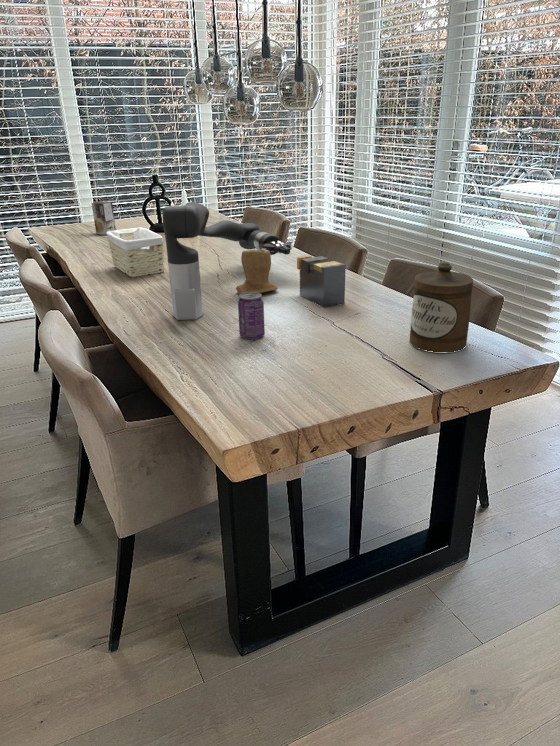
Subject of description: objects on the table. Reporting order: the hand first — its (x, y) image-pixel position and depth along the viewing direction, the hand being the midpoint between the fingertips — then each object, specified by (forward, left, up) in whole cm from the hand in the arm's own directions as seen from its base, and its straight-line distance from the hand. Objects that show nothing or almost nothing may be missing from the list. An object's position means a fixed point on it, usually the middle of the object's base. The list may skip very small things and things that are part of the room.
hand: (288, 251), depth 206 cm
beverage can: (-53, +13, -12) cm, 56 cm away
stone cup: (-10, +12, -12) cm, 20 cm away
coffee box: (+105, +90, -12) cm, 139 cm away
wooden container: (-63, -37, -12) cm, 74 cm away
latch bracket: (-21, -10, -12) cm, 26 cm away
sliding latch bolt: (-18, -8, -4) cm, 20 cm away
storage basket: (+26, +60, -12) cm, 66 cm away
